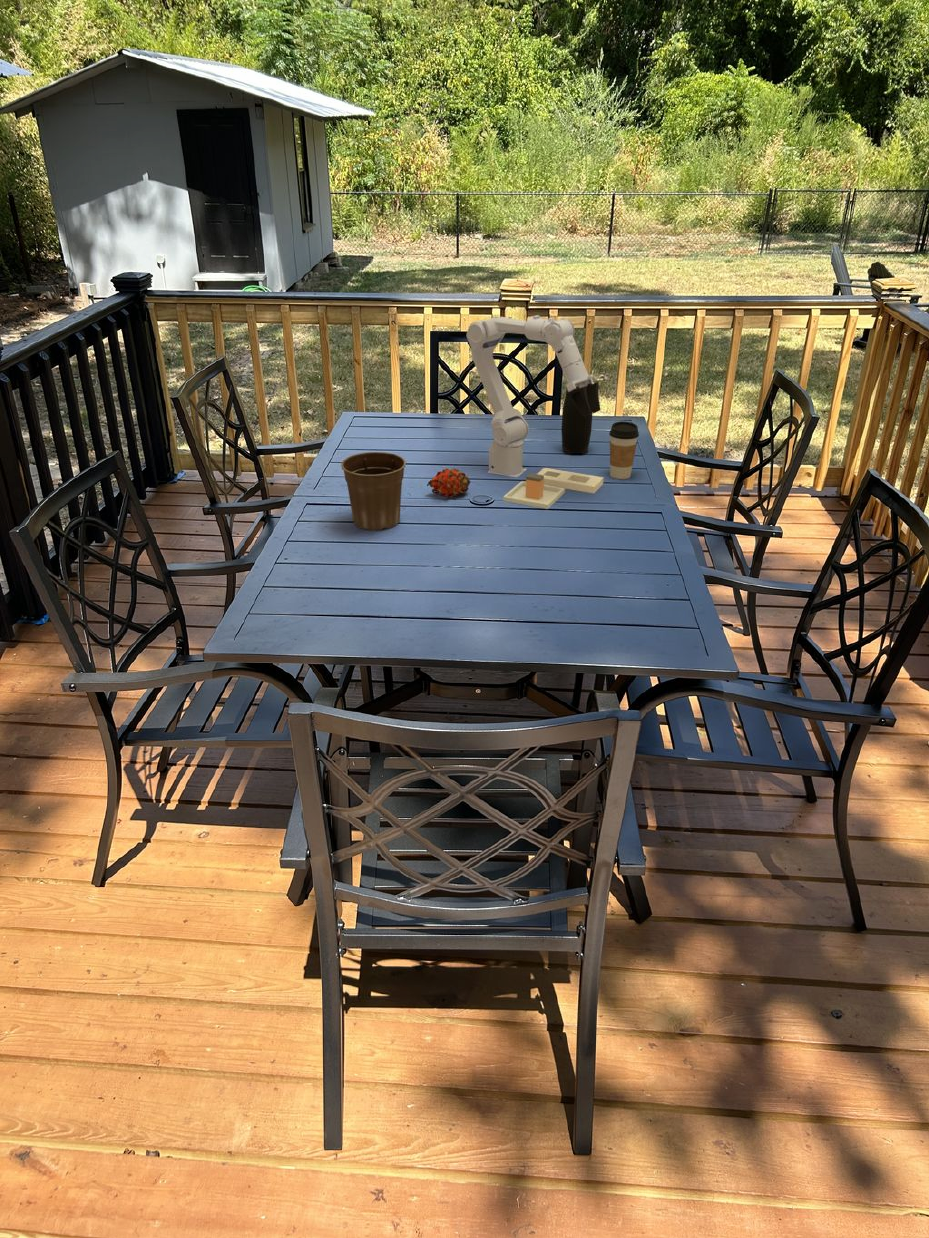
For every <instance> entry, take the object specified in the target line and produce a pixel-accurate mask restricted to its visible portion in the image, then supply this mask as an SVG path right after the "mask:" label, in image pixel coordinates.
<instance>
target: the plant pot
mask: <svg viewBox="0 0 929 1238" xmlns="http://www.w3.org/2000/svg"><path fill="white" fill-rule="evenodd" d="M406 465H407V461H406V460H405V458H403V457H402V456H400V455H399V454H396V453H391V452H383V451H368V452H361V453H360V452H359V453H356V454H352V455H350V456H347V457H346V458H344V459H343V460H342V461H341V469H342V471H343V475H344V479H345V482H346V484H347V485H346V486H347V491H348V497H349V501H350V509H351V514H352V515H351V516H352V522H353V524H354V525H355V527H356V528H360V529H362V530H366V531H382V529H391V528H393V527H395V526H397V525H398V524H399V523H400V520H401V503H402V502H401V501H402V485H403V479H404V473H405V472H404V471H405V468H406Z"/></svg>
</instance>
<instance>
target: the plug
mask: <svg viewBox="0 0 929 1238" xmlns="http://www.w3.org/2000/svg"><path fill="white" fill-rule="evenodd" d="M525 482H526V496H525V497H526V498H532V499H538V500H539V499H540V498H541V497H543V487H544V475H539V474H538V473H532V472H530V473H529V474H528V475H526V476H525Z"/></svg>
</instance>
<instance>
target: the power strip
mask: <svg viewBox="0 0 929 1238" xmlns="http://www.w3.org/2000/svg"><path fill="white" fill-rule="evenodd" d="M537 474H539V475H544V485H548V486H553V487H559V488H565V490H571V491H577V492H582V493H583V492H584V493H588V494H595V493H596V492H597V491H598V490H599V489H600V488H601V487H602V486H603V484H604V477H603V476H597V475H592V474H591V475H590V474H584V473H578V472H572V471H567V470H561V469H554V468H548V467H543V468H542V469H541V470H539V472H537Z"/></svg>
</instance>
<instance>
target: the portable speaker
mask: <svg viewBox="0 0 929 1238" xmlns="http://www.w3.org/2000/svg"><path fill="white" fill-rule="evenodd" d="M569 392H571V391H568V389H567V388H566V389H565V394H567V393H569ZM590 411H591V410H590ZM561 413H562V416H561V444H562V445H561V447H562V452H563V453H564V454H566V455H569V456H570V455H572V454H573V453H574V454H575V453H577V454H579V453H580V454H581V456H582V455H584V456H585V455H586V454H587V453H588V449H589V445H590V441H591V435H592V434H591V433H592V426H593V425H592V424H593V415H594V413H592V411H591V414H589V415H586V416H584V417H583V416H582V414H581V413H580V412H579V410H578V409H577V407H576V406H575V405H574V403H573V402H572V401H571V400H569V399H568V398H567V397H566V395H565V396H564V401H563V406H562V412H561Z"/></svg>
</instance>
